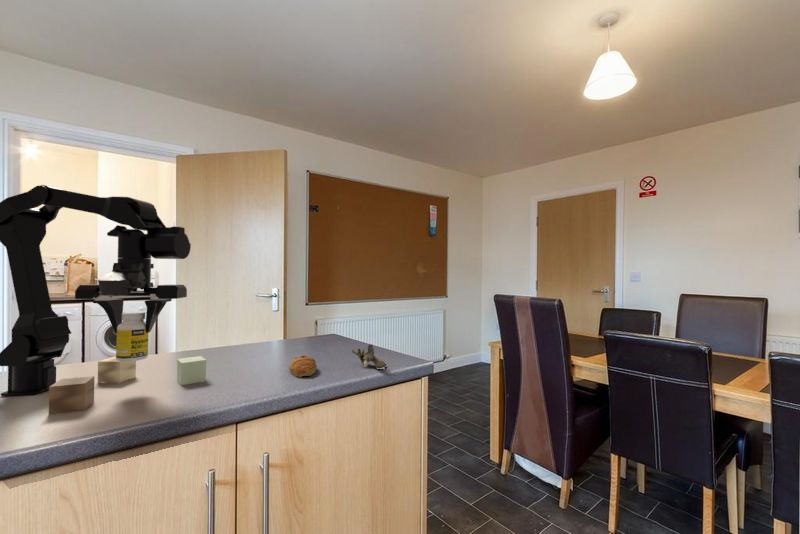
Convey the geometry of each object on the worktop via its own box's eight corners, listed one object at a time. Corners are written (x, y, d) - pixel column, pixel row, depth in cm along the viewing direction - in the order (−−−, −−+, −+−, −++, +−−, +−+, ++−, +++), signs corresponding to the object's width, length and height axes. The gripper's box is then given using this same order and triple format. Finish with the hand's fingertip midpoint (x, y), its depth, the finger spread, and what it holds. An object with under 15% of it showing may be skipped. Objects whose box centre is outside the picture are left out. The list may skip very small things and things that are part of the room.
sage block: (181, 385, 82) (181, 363, 82) (177, 380, 85) (177, 359, 85) (205, 381, 85) (206, 359, 85) (200, 376, 89) (201, 355, 89)
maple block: (97, 383, 82) (98, 361, 83) (114, 377, 87) (115, 356, 88) (119, 383, 82) (120, 361, 83) (135, 377, 87) (136, 356, 88)
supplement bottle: (131, 363, 73) (132, 314, 74) (109, 361, 75) (110, 313, 75) (154, 357, 79) (155, 311, 79) (133, 355, 80) (134, 310, 80)
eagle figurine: (346, 363, 98) (369, 362, 92) (354, 339, 101) (377, 336, 96) (365, 374, 102) (388, 374, 96) (372, 350, 106) (395, 349, 100)
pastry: (319, 377, 89) (319, 361, 89) (291, 380, 87) (291, 364, 87) (314, 367, 98) (314, 353, 98) (288, 370, 95) (288, 355, 96)
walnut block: (48, 415, 64) (49, 386, 64) (60, 405, 69) (61, 379, 69) (84, 410, 66) (85, 383, 66) (93, 402, 71) (94, 376, 71)
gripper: (54, 256, 67) (52, 340, 67) (165, 258, 71) (164, 338, 70) (94, 258, 78) (92, 331, 78) (188, 259, 82) (187, 329, 81)
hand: (133, 332), depth 77 cm, fingers closed on supplement bottle, 5 cm apart
